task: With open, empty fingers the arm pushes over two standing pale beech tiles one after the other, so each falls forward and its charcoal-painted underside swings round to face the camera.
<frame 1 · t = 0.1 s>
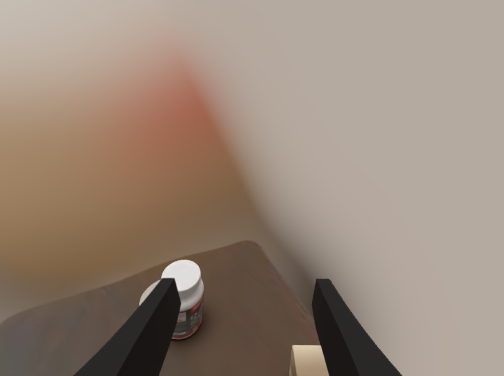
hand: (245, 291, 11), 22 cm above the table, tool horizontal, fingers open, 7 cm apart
pill bottle: (182, 320, 32), on the table
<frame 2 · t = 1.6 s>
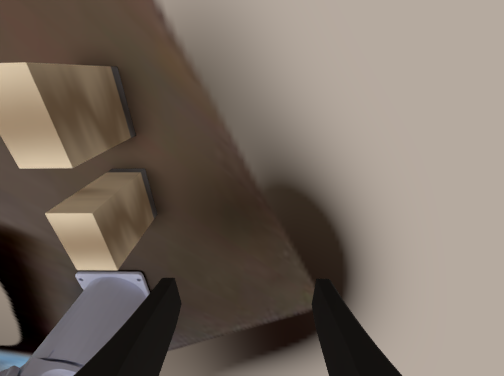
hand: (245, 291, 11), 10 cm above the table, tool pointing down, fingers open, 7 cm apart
beech tile A: (136, 192, 21), on the table
beech tile B: (108, 103, 17), on the table
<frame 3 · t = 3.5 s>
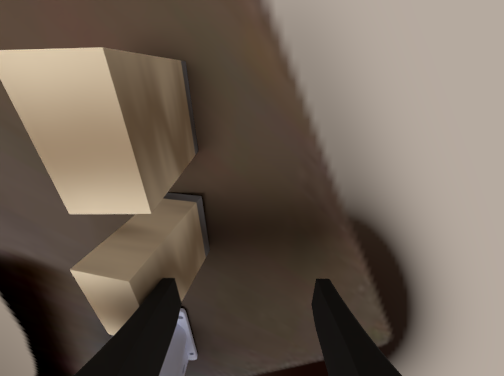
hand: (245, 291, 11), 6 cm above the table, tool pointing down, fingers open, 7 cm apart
beech tile A: (187, 222, 16), on the table, tilted 12°
beech tile B: (167, 110, 13), on the table
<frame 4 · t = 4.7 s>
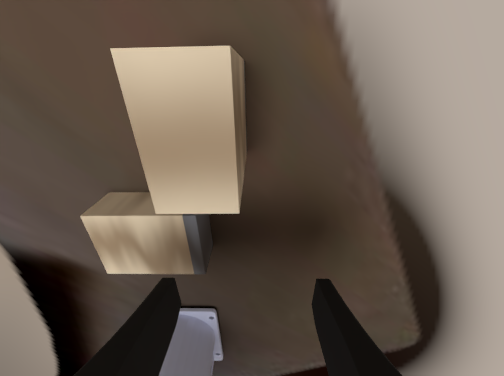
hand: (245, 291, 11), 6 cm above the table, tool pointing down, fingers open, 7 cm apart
beech tile A: (205, 232, 15), point 1 cm above the table, tilted 90°
beech tile B: (220, 110, 13), on the table
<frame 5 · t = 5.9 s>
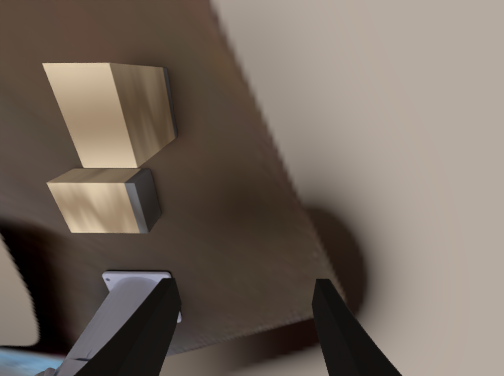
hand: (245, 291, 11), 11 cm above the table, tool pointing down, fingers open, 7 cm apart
beech tile A: (149, 200, 19), point 1 cm above the table, tilted 90°
beech tile B: (153, 104, 17), on the table
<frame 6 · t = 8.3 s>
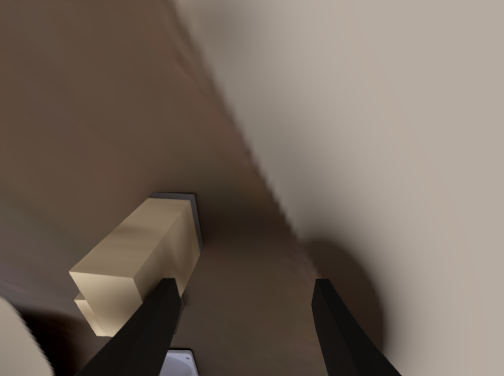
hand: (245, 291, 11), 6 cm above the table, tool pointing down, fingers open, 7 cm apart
beech tile A: (175, 302, 19), point 1 cm above the table, tilted 90°
beech tile B: (180, 221, 16), on the table, tilted 6°, touching gripper
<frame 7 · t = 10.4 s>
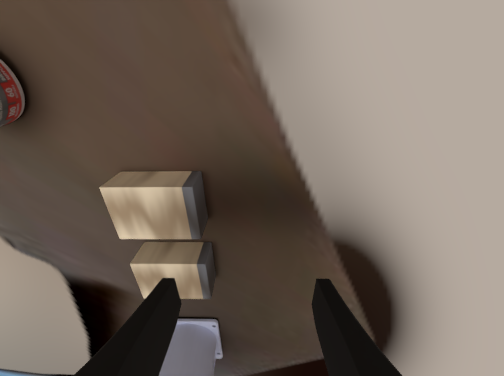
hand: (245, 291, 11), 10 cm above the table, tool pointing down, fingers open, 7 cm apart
beech tile A: (211, 270, 22), point 1 cm above the table, tilted 90°
beech tile B: (201, 204, 18), point 1 cm above the table, tilted 90°
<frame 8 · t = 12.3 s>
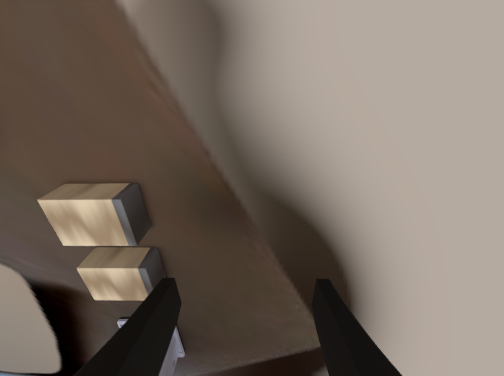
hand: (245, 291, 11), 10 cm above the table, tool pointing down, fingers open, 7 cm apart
beech tile A: (157, 273, 24), point 1 cm above the table, tilted 90°
beech tile B: (137, 214, 20), point 1 cm above the table, tilted 90°
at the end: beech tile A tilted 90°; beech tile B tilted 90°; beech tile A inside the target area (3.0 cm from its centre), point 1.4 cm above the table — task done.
